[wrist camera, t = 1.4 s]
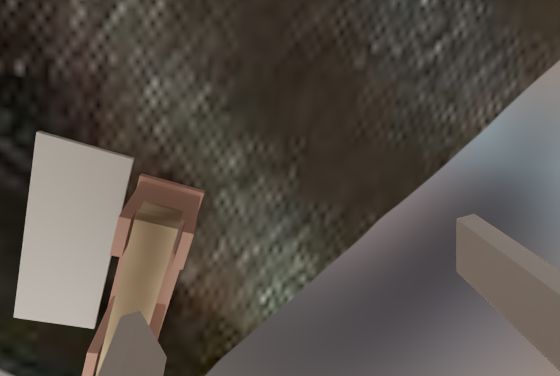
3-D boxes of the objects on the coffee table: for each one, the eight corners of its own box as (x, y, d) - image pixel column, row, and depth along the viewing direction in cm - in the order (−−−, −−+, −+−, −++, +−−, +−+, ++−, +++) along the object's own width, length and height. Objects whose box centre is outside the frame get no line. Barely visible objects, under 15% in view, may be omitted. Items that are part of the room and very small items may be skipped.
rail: (100, 370, 36) (88, 402, 33) (144, 200, 29) (134, 219, 26) (133, 374, 37) (125, 405, 34) (183, 210, 30) (178, 229, 27)
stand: (106, 317, 42) (77, 383, 34) (141, 172, 35) (115, 210, 27) (161, 326, 44) (146, 389, 36) (204, 190, 37) (198, 230, 29)
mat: (16, 313, 40) (13, 317, 39) (39, 130, 32) (36, 131, 31) (95, 325, 42) (93, 328, 42) (134, 157, 34) (133, 159, 34)
